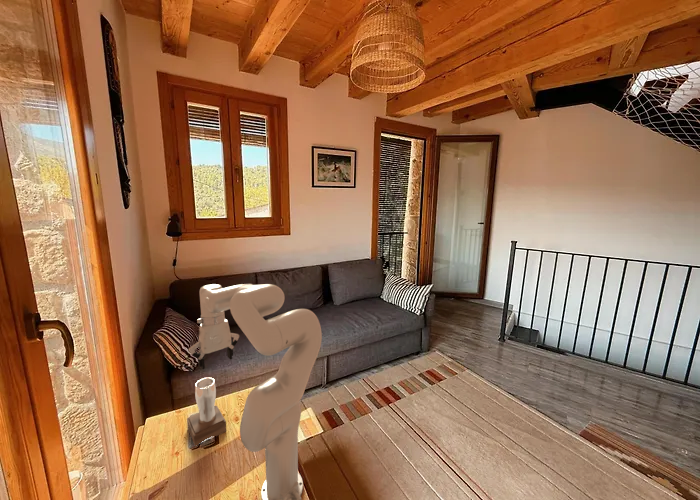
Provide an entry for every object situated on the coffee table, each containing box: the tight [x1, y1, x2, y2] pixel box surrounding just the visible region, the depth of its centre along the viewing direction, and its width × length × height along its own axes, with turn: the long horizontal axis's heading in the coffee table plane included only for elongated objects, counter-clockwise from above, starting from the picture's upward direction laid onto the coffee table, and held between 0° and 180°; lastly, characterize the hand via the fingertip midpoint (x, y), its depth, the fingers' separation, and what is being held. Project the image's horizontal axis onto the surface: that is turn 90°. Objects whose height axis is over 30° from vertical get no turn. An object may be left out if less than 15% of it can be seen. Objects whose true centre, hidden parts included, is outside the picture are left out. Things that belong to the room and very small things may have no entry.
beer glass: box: [194, 377, 217, 424], centre depth 108 cm, size 7×7×15 cm
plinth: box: [186, 405, 227, 447], centre depth 110 cm, size 11×11×5 cm
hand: (216, 362), depth 105 cm, fingers open, 9 cm apart
